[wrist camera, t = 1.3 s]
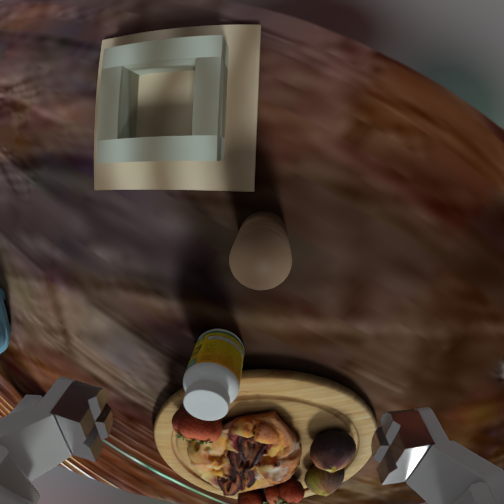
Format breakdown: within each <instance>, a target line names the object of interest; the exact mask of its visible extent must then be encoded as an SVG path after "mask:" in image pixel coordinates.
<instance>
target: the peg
mask: <svg viewBox="0 0 504 504" xmlns="http://www.w3.org/2000/svg"><path fill="white" fill-rule="evenodd" d="M229 264H230V268H231V271H232V273H233V275H234V277H235V278H236V279H237V280H238V281H239V282H240V283H241V284H243V285H244V286H246V287H248V288H251V289H254V290H267V289H271V288H274V287H276V286H278V285H279V284H281V283H282V282H283V281H284V280H285V279H286V277H287V276H288V274H289V272H290V270H291V266H292V256H291V250H290V245H289V240H288V235H287V230H286V226H285V224H284V222H283V221H282V219H281V218H280V217H279V216H278V215H276V214H274V213H272V212H269V211H257V212H254V213H252V214H250V215H249V216H248V217H247V218H246V219H245V220H244V221H243V223H242V225H241V228H240V230H239V232H238V235H237V237H236V239H235V242H234V244H233V247H232V249H231V252H230V257H229Z"/></svg>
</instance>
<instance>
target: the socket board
mask: <svg viewBox="0 0 504 504" xmlns="http://www.w3.org/2000/svg"><path fill="white" fill-rule="evenodd" d="M260 43H261V25H209V26H194V27H182V28H173V29H164V30H156V31H149V32H143V33H137V34H131V35H125V36H120V37H115V38H110V39H106V40H102V47H101V54H100V63H99V72H98V82H97V94H96V109H95V131H94V187H95V190H136V189H162V190H217V191H245V192H254V188H255V164H256V140H257V115H258V91H259V67H260Z"/></svg>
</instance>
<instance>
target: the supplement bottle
mask: <svg viewBox="0 0 504 504" xmlns="http://www.w3.org/2000/svg"><path fill="white" fill-rule="evenodd" d="M243 359H244V346H243V344H242V342H241V340H240V339H239V338H238V337H237V336H236V335H235V334H234V333H232V332H230V331H228V330H224V329H212V330H209V331H206V332H205V333H203V334H202V335H201V336H200V337H199V339H198V341H197V343H196V346H195V348H194V351H193V353H192V356H191V358H190V361H189V364H188V366H187V369H186V371H185V374H184V377H183V387H184V390H185V395H184V399H183V404H184V407H185V409H186V410H187V411H188V412H189V413H190V414H191V415H192V416H194V417H196V418H198V419H201V420H206V421H214V420H219V419H221V418H223V417H224V416H225V415H226V414H227V412H228V409H229V405H230V403H232V402H233V401H234V400H235V399H236V397H237V395H238V393H239V387H240V380H241V373H242V366H243Z"/></svg>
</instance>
